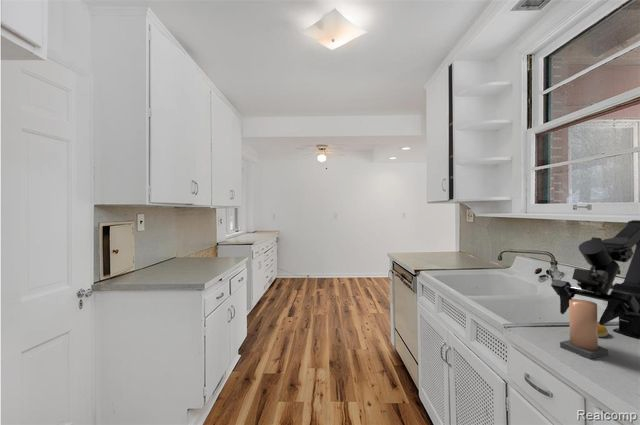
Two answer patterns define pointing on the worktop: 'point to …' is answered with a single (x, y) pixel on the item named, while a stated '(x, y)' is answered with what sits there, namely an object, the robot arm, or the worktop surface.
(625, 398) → the worktop surface
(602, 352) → the plate
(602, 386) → the worktop surface
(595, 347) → the peach cylinder
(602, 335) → the bread roll
